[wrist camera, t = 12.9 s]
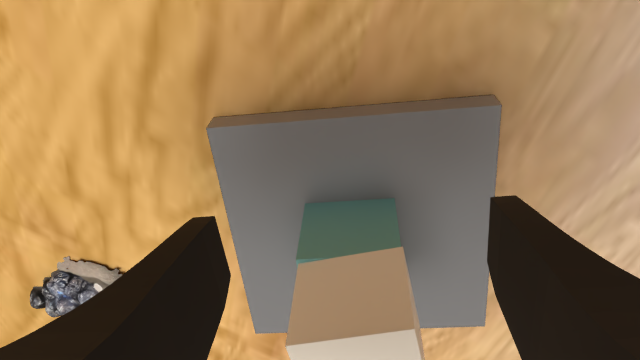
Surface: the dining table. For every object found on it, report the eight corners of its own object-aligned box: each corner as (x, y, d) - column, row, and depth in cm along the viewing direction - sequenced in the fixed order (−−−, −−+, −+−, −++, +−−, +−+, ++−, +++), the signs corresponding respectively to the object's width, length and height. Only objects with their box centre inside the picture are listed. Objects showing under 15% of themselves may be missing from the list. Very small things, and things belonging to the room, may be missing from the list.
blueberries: (164, 330, 29) (153, 355, 27) (45, 344, 30) (27, 369, 29) (118, 238, 26) (102, 261, 24) (-13, 258, 27) (-37, 281, 25)
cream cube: (402, 246, 18) (414, 328, 14) (419, 324, 20) (433, 414, 16) (298, 263, 19) (285, 346, 15) (323, 337, 20) (317, 426, 17)
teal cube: (394, 198, 22) (402, 254, 18) (397, 268, 23) (404, 332, 20) (304, 203, 22) (295, 259, 18) (315, 272, 24) (308, 335, 20)
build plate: (493, 94, 20) (501, 105, 19) (479, 309, 26) (484, 326, 25) (213, 117, 21) (206, 128, 20) (259, 317, 27) (255, 333, 26)
